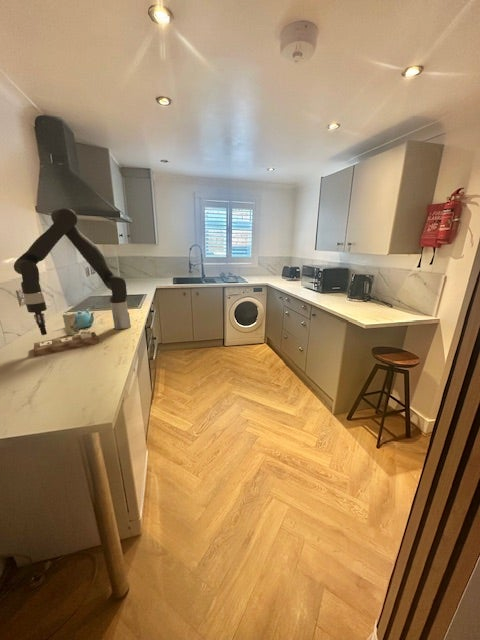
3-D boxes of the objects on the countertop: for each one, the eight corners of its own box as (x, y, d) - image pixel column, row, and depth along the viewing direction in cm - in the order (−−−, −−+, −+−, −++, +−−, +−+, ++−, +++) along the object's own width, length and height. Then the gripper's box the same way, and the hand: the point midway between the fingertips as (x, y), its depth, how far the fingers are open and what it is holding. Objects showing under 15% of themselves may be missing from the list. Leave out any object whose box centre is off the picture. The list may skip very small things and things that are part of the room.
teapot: (71, 331, 157) (68, 316, 154) (66, 325, 168) (63, 311, 164) (97, 326, 167) (94, 311, 164) (91, 321, 177) (88, 307, 174)
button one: (72, 342, 140) (71, 336, 139) (73, 345, 136) (72, 339, 135) (62, 345, 137) (60, 338, 136) (62, 348, 133) (61, 341, 132)
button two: (53, 346, 135) (51, 340, 134) (53, 349, 131) (51, 342, 130) (41, 348, 132) (39, 342, 131) (41, 352, 128) (39, 345, 127)
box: (72, 335, 150) (68, 315, 147) (66, 335, 151) (61, 314, 147) (79, 332, 155) (75, 312, 152) (73, 332, 156) (69, 312, 152)
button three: (90, 336, 145) (89, 330, 144) (92, 339, 141) (91, 332, 140) (80, 338, 142) (79, 332, 141) (81, 341, 138) (80, 334, 137)
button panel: (95, 336, 149) (94, 331, 148) (98, 342, 140) (97, 337, 139) (35, 348, 133) (34, 343, 132) (35, 356, 124) (33, 350, 123)
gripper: (44, 303, 121) (53, 336, 126) (44, 298, 131) (52, 329, 136) (24, 305, 116) (34, 340, 122) (25, 300, 126) (35, 332, 132)
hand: (44, 334), depth 129 cm, fingers closed
